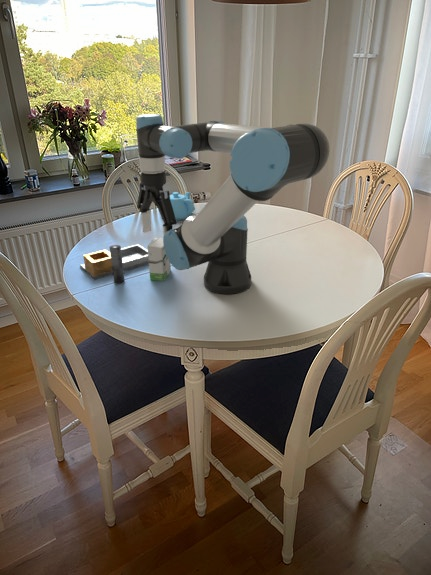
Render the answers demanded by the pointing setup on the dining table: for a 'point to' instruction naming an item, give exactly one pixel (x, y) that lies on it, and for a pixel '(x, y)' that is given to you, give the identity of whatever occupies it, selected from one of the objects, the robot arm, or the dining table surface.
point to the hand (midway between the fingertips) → (157, 237)
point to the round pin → (117, 264)
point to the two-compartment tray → (101, 263)
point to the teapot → (182, 205)
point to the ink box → (158, 260)
